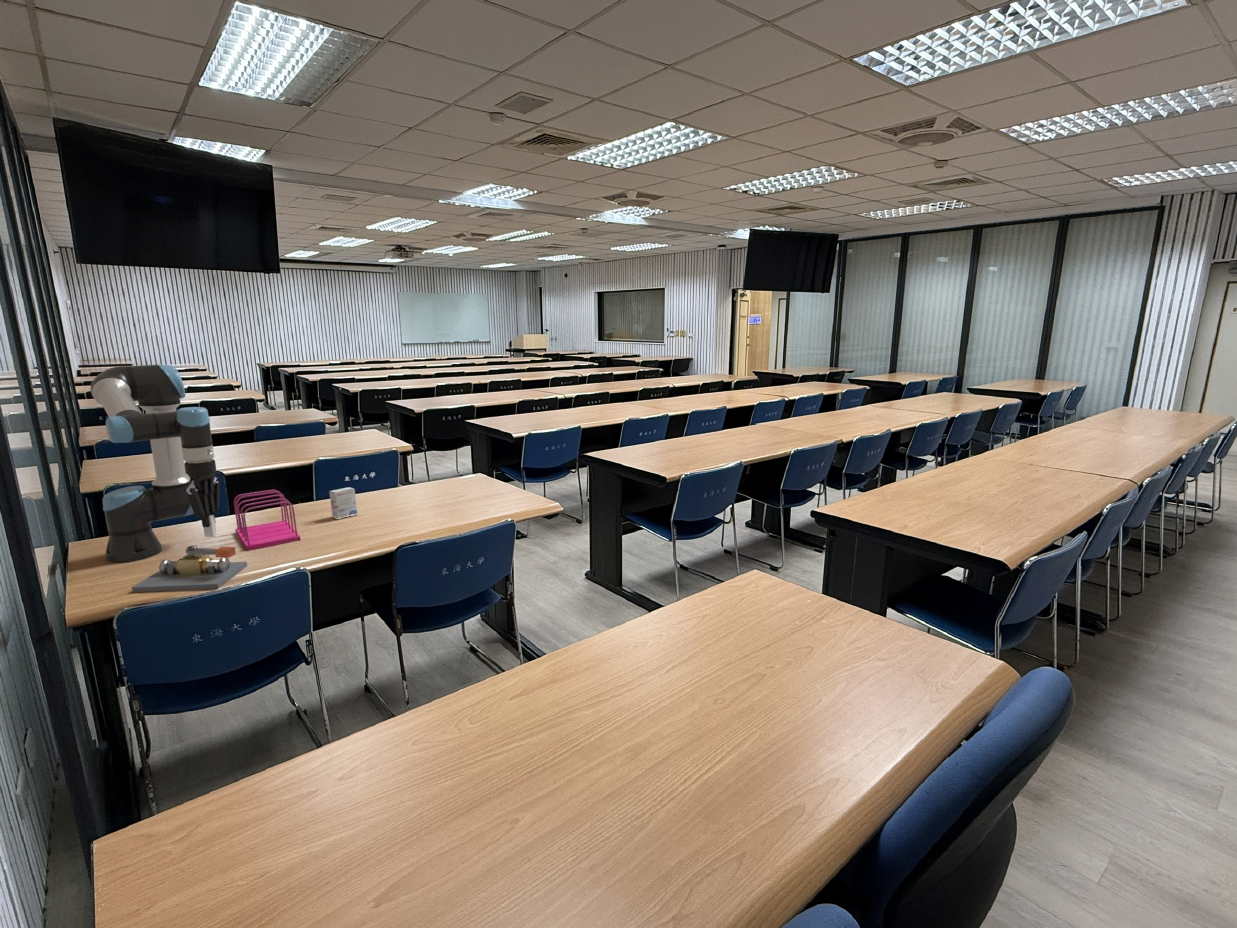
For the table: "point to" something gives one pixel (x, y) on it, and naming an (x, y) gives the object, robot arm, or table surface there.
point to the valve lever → (211, 551)
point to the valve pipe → (194, 565)
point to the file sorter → (265, 532)
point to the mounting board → (188, 580)
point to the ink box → (343, 502)
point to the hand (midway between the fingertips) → (210, 535)
